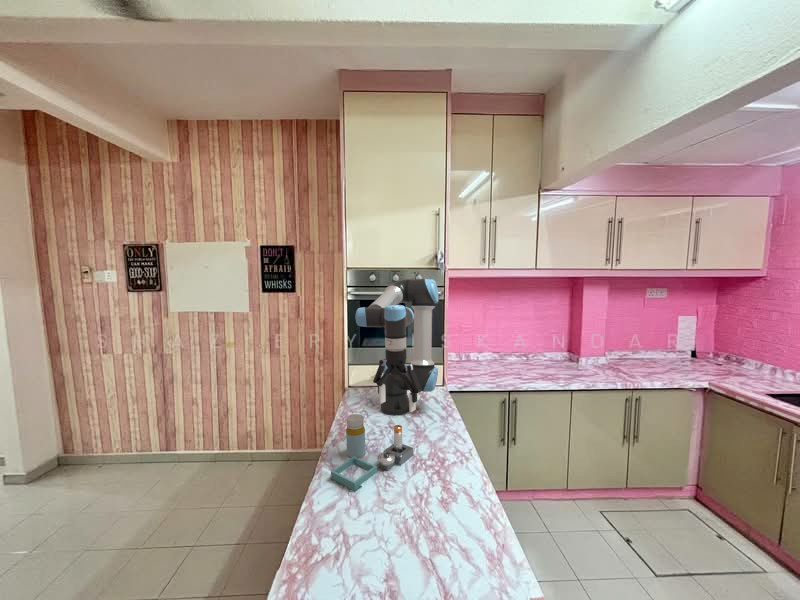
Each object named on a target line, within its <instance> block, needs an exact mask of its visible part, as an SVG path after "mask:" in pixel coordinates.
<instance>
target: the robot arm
mask: <svg viewBox="0 0 800 600" xmlns="http://www.w3.org/2000/svg"><path fill="white" fill-rule="evenodd" d="M438 289H439V288H438V284H437V282H436V280H435V279H431V278H430V279H429V278H414V279H413V278H411V279H407V278H406V279H399V280H396V281H395V282H393V283H391V284H389V285H388V286H386V288H385V289H384V291H383V293H382V294H381V295H380V296H379V297H378V298H377V299H375V300H374V301H373V302H371V304H370V305H369V306H368V307H365V306H364V307H359V308H357V309H356V311H355V323H356V325H357V326H359V327H365V328H384V346H385V353H384V354H385V356H384V357H385V358H383V359H380V360H379V362H378V367H377V370H376V372H375V375H374V378H373V381H372V383H374V384H376V386H377V393H378V395H379V397H378V399H379V404H380V411H381V413H383V414H385V415H388V416H401V415H405V414H408V413H413V412H414V411H416V407H417V405H416V403H417V402H418V394H419V393H421V392H424V393H426V392H433V391H435V389H436V386H437V382H438V373H439V368H438V367H437V366H435V362H434V361H433V359H432V349H433V348H432V346H433V345H432V335H433V332H432V331H433V329H432V327H433V326H432V325H433V320H432V319H433V309H435V308H436V304H438V303H439V298H440V296H439V290H438ZM402 303H403V304H406V303H407V304H410V307H411V308H409V307H407V306H404V305H401V304H402ZM412 309H413V310H412ZM413 311H414V312H413ZM412 323H413V360H411V362H410V364H407V349H406V348H407V327H409V326H411V325H412ZM408 391H409V392H410V393H408Z"/></svg>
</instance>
